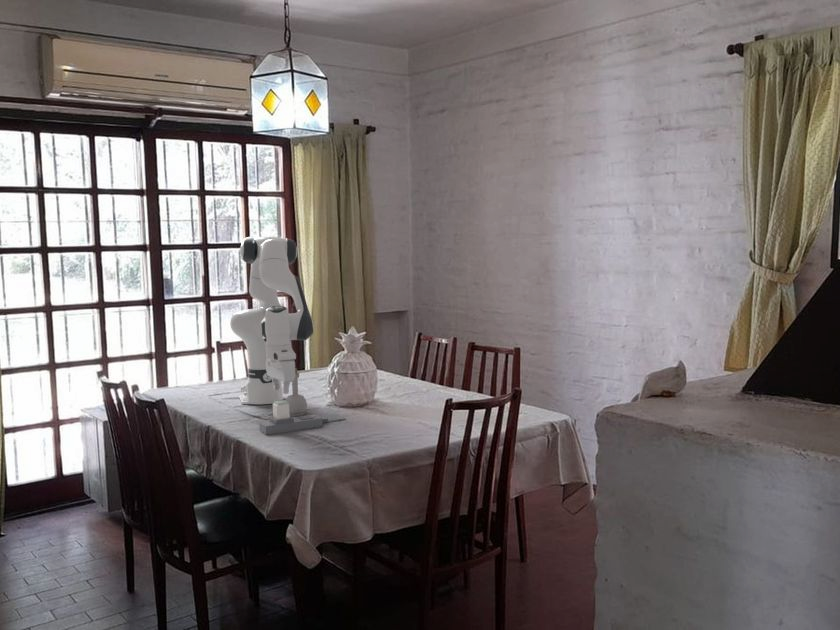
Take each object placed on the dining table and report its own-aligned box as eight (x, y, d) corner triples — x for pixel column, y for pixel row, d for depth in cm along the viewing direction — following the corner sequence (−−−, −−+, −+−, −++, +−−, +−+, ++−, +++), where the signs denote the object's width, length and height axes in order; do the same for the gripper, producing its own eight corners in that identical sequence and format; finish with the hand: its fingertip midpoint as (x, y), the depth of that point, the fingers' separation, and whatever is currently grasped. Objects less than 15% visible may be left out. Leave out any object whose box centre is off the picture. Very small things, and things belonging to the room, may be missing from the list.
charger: (273, 421, 280) (272, 401, 279) (285, 419, 282) (284, 399, 282) (277, 423, 276) (276, 403, 275) (289, 421, 278) (289, 402, 278)
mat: (310, 418, 296) (310, 416, 296) (335, 414, 301) (335, 413, 301) (320, 423, 288) (320, 421, 288) (345, 419, 292) (345, 418, 292)
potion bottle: (285, 417, 299) (283, 370, 297) (284, 412, 308) (282, 366, 306) (308, 415, 301) (306, 369, 299) (307, 410, 309) (305, 365, 307)
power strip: (259, 430, 279) (259, 418, 279) (324, 421, 291) (324, 409, 291) (265, 434, 273) (265, 422, 273) (331, 424, 285) (331, 412, 284)
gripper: (261, 350, 284) (263, 388, 285) (280, 356, 266) (282, 396, 268) (277, 348, 287) (279, 386, 288) (297, 354, 269) (299, 394, 271)
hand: (281, 391), depth 278 cm, fingers open, 8 cm apart
